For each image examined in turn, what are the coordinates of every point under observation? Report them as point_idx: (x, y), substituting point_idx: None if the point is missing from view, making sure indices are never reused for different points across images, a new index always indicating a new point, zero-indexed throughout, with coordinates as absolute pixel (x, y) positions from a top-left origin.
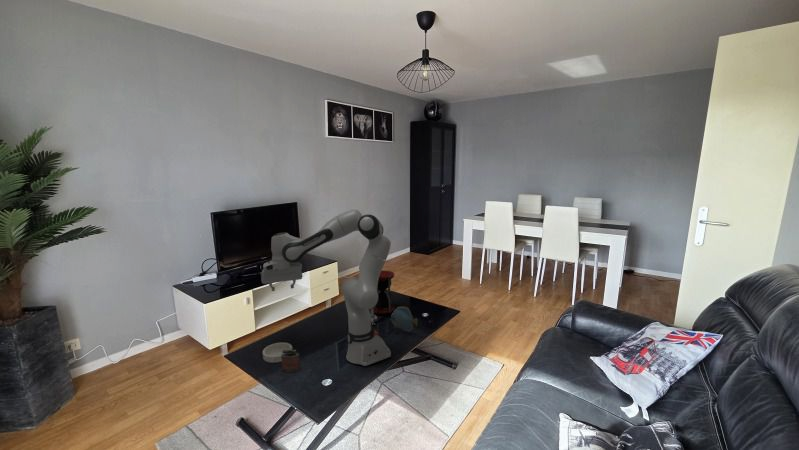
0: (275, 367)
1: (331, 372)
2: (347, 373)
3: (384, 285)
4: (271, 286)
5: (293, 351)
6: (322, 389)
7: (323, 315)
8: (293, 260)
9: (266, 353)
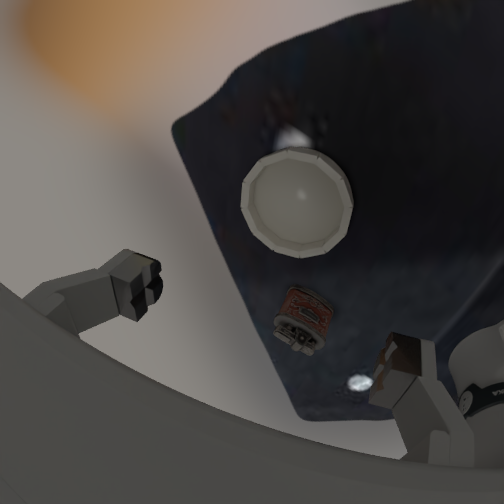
0: (275, 264)
1: None
2: None
3: None
4: (91, 324)
5: (304, 351)
6: (339, 392)
7: None
8: None
9: (261, 178)
